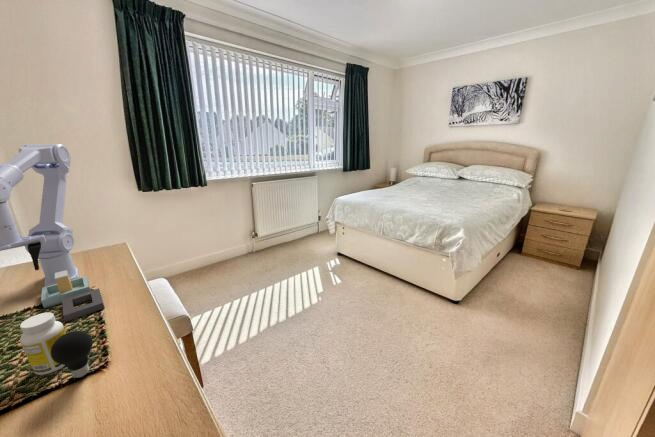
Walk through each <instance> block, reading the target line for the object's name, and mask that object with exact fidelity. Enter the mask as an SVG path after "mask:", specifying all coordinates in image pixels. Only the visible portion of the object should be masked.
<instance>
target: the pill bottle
mask: <svg viewBox="0 0 655 437" xmlns="http://www.w3.org/2000/svg"><path fill="white" fill-rule="evenodd" d="M19 328H20V331H21V332H22V335H21V336H20V339H19V342H20V345H21V347H22V349H23V351H24V354H25V356H26V359H27V360H28V363H29V366H30V368H31V369H32V372H33V373H34V374H35V375H38V376H39V375H40V376H43V375H48V374H52V373H53V372H54V373H55V372H58V371H59V370H60V369H63V368H64V367H66V366H65V365H63V364H59V363H57V362H55V361H54V360H53V359H52V357H51V348H52V345H53V344H54V342H55V341H56V340H57V339H58V338H59V337H61V336H62V335H64V334H66V333H67V332H66V329H65V326H64V324H63V323H62V322H60V321H58V320H56V317H55V315H54V313H53V312H42V313H39V314H36V315H33V316H31V317H28V318H26V319H25V320H24V321H22V322H21V323H20V325H19Z"/></svg>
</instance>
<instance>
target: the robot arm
mask: <svg viewBox="0 0 655 437" xmlns="http://www.w3.org/2000/svg"><path fill="white" fill-rule="evenodd" d="M71 159H72V158H71V154H70V152H69V150H68V149H67V148H66V147H65V145H64V144H61V143H56V144H30V143H29V144H28V143H26V144H23V145H21V146H20V147H18V153H17V154H16V155H15V156H14V157H13V158H12V159H11V160H9V161H8V162H7V163H0V252H1V251H7V250H11V249H17V248H21V247H25V250H26V252H27V253H29V255H30V257H31V260H32V263H33V268H34V270H35V271H39V270H40V267H41V269H42V273H43V275H44V287H46V286H50V285H53V284H57V283H56V281H55V273H57V272H61V271H65V270H67V272H68V275H69V278H70V280H72V279H75V278H79V277H80V275H79V271H78V267H77V266H75V264H74V261H73V258H72V255H71V253H70V251H71V250H72V249H73V247H74V244H75V239H74V236H73V230H72V228H70V227H68V226H66V225H65V224H63V223H64V214H65V213H64V211H65V202H66V201H65V200H66V190H67V189H66V188H67V178H68V173H69V172H70V170H71ZM30 169H32V170H33V171H35V173H36V174H39V175H42V176H43V185H42V193H41V204H40V213H39V222H38V224H36V225H34V226H33V227H31V228H30V229H29V230H28V235H27V236H22V237H21V236H20V232H19V231H18V228H17V225H16V224H15V220H14V218H13V215H12V212H11V210H10V207H9V204H8V201H9V200H10V199H11V193H12V191H13V188H14V187H16V186H17V185H18V184H20V182H21V181H23V179H24V173H25V172H27V171H28V170H30ZM39 264H40V265H39Z"/></svg>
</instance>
